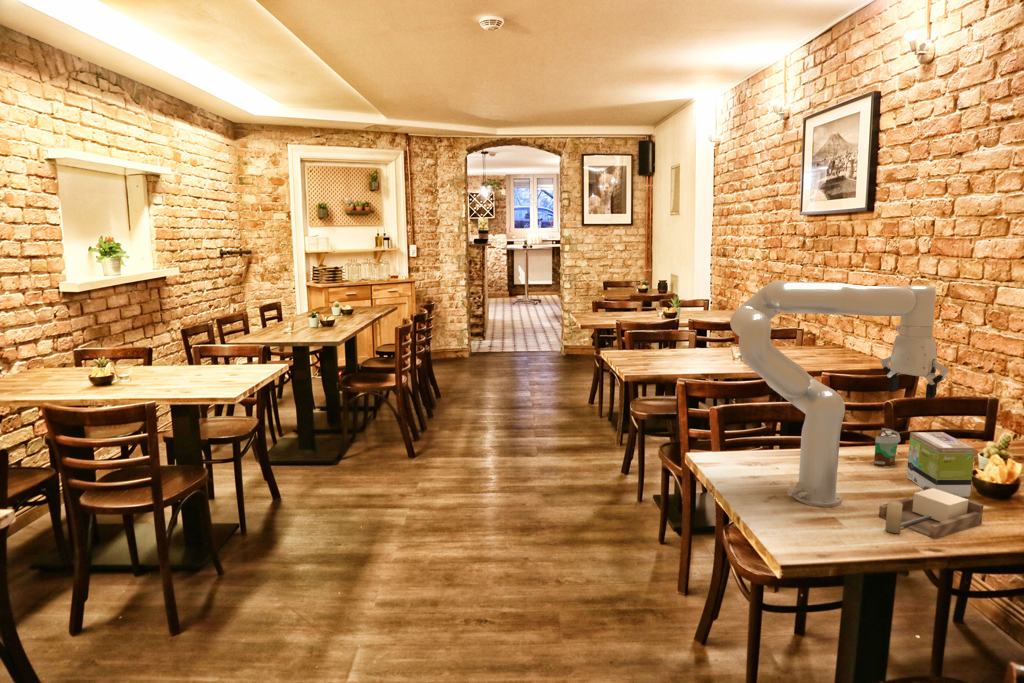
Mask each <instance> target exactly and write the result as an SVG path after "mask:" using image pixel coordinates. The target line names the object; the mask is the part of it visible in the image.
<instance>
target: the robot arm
mask: <svg viewBox="0 0 1024 683" xmlns="http://www.w3.org/2000/svg"><path fill="white" fill-rule="evenodd" d="M936 296H937V291H936V288H935V287H934V286H932V285H929V284H928V285H927V284H911V285H909V284H908V285H894V284H884V283H883V284H878V285H875V286H868V285H860V284H859V285H857V284H850V283H846V282H845V283H844V282H834V281H792V280H791V281H789V280H788V281H787V280H781V279H776V280H773V281H771V282H769V283H767V284H766V285H765V286H763V287H762V288H761V289H759V290H758V291H757V292H756V293H755V294H754V295H752V296H751V297H749V299H747V300H746V301H745V302H743V303H742V304H741V305H740V306H738V308H737V309H736V310H734V312H733V313H732V314H731V317H730V319H729V320H730V321H729V323H730V328H731V331H732V332H733V333H734V334H735V335H736V336H738V349H739V354H740V357H741V359H742V361H743V362H744V363H745V364H746V366H747V367H749V368H750V369H751V370H752V371H753V372H754V373H755V374H757V375H759V377H761V379H763V380H764V381H765V382H766V384H767V385H768V387H769V388H770V389H772V390H773V391H775V393H778V394H779V396H781V397H782V398H784V399H785V400H786V401H788V402H789V403H790V404H792V405H793V407H795V408H797V409H798V410H800V411H801V412H802V413H803V414H805V418H804V422H803V425H802V428H801V435H800V436H801V438H800V453H799V454H800V455H799V467H798V468H799V471H798V481H797V482H796V483H795V485H796V486H795V487H793V488H789V489H787V490H786V494H787V496H788V497H792V498H793V499H794V500H796V501H798V502H800V503H803V504H805V505H809V506H815V507H823V508H824V507H825V508H826V507H829V508H830V507H836V506H839V505H841V503H842V502H843V501H842V500H843V499H842V496H841V495H840V494H839V493H838V492H837V484H838V481H837V480H838V469H839V456H840V455H839V453H840V442H841V441H840V440H841V439H840V438H841V430H842V425H843V421H844V418H845V413H846V405H845V402H844V399H843V397H842V396H841V395H840V394H839V393H838V392H837V391H836V390H834V389H833V388H831V387H829V386H827V385H825V384H823V383H822V382H820V381H818V380H817V379H816V378H815V377H813V376H812V375H810V374H809V373H808V372H807V370H806V369H805V368H804V367H803V366H802V365H801V364H799V363H797V362H796V361H794V360H793V359H790V358H789V357H788V356H786V355H785V354H784V353H782V351H780V350H779V349H778V348H777V347H776V346H775V345H774V344H773V343H772V340H771V334H772V324H771V320H772V319H773V318H774V317H775V316H776V315H778V314H779V313H783V314H802V315H803V314H806V315H807V314H812V315H813V314H814V315H817V314H818V315H839V316H845V315H846V316H871V317H873V316H875V317H880V316H881V317H900V319H899V321H900V322H899V325H896V326H895V328H894V329H895V331H897V332H898V335H896V336H895V338H894V341H893V345H892V349H891V354H890V356H889V357H886V358H882V359H880V363H881V365H882V369H883V371H884V373H885V374H886V375H887V378H888V391H889V392H888V393H895V392H899V382H900V381H899V380H900V377H899V374H901V375H902V374H903V375H909V376H915V377H924V378H925V380H926V381H927V383H928V384H926V385H925V399H926V400H933V399H935V398H936V396H937V390H938V384H939V383H940V382H942V381H944V379H945V378H946V377H947V375H948V374H949V372H950V369H949V368H948V367H946V366H945V365H943V364H941V363H940V362H939V361H938V360H937V359H938V352H937V343H936V340H935V338H934V337H933V336H934V335H933V334H934V321H935V320H934V319H935V309H936V308H935V307H936ZM937 370H938V371H939V374H937V375H936V372H937Z"/></svg>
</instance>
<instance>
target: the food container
mask: <svg viewBox="0 0 1024 683" xmlns="http://www.w3.org/2000/svg"><path fill="white" fill-rule="evenodd" d="M899 443H901V436H900V433H899V432H898V431H897V430H896V431H895V430H893V429H891V428H884V427H881V431H880V433H879V434H878V435H875V444H874V445H875V446H874V461H873V465H875V466H876V467H883V466H889V467H893V466H895V463H896V456H897V449H898V444H899ZM892 465H893V466H892Z"/></svg>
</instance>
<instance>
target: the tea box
mask: <svg viewBox="0 0 1024 683" xmlns="http://www.w3.org/2000/svg"><path fill="white" fill-rule="evenodd" d="M974 460H975V447H974V446H971V445H970V444H968V443H966V442H963V441H962V440H959V439H958V438H955V437H953V436H951V435H949V434H947V433H946V432H943V431H938V432H937V431H930V432H928V431H926V432H918V431H916V432H913V431H911V432H910V433H909V446H908V457H907V467H906V478H907V479H908V480H910V481H912V482H913V483H914V484H916V485H917V486H919V487H921V488H922V489H923V490H924V487H925V486H928V487H931V488H934V489H937V490H941V491H944V492H947V493H950V494H953V495H956V496H959V497H962V498H970V496H971V488H972V481H973V480H972V479H973V470H974V469H973V468H974Z"/></svg>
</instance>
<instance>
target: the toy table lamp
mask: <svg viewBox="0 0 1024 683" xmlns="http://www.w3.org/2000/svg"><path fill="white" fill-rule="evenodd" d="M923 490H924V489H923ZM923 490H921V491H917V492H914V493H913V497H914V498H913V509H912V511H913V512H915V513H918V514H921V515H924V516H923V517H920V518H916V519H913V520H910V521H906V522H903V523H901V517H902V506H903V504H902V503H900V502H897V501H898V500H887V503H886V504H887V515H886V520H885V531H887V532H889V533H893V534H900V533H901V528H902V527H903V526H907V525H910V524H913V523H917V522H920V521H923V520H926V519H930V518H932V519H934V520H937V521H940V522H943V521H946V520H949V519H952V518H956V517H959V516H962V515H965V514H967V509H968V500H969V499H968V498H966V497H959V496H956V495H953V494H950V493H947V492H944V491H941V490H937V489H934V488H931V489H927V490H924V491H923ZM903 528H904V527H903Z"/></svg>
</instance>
